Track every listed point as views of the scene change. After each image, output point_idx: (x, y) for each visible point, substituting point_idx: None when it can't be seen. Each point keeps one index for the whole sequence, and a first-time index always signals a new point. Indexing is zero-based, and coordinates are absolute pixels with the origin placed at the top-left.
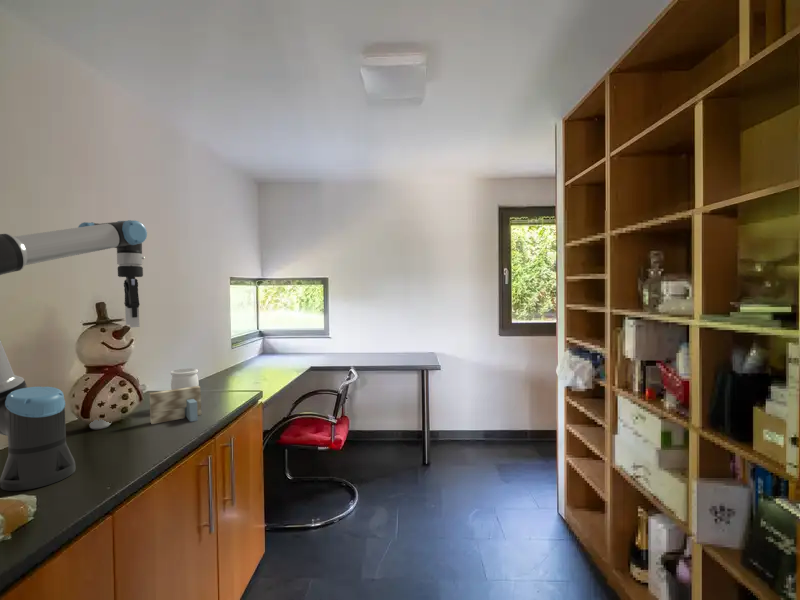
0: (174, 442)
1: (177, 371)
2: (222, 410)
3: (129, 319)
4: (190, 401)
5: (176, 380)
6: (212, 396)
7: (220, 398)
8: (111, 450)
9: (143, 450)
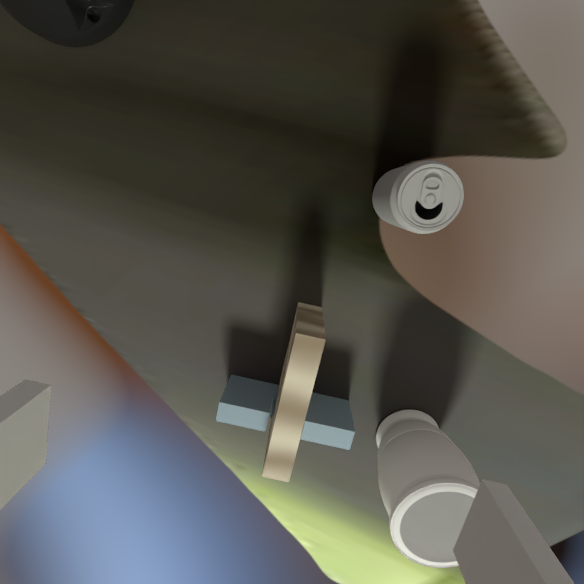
0: (91, 279)
1: None
2: None
3: (498, 568)
4: (239, 412)
5: (416, 468)
6: None
7: None
8: (148, 152)
9: (87, 207)
